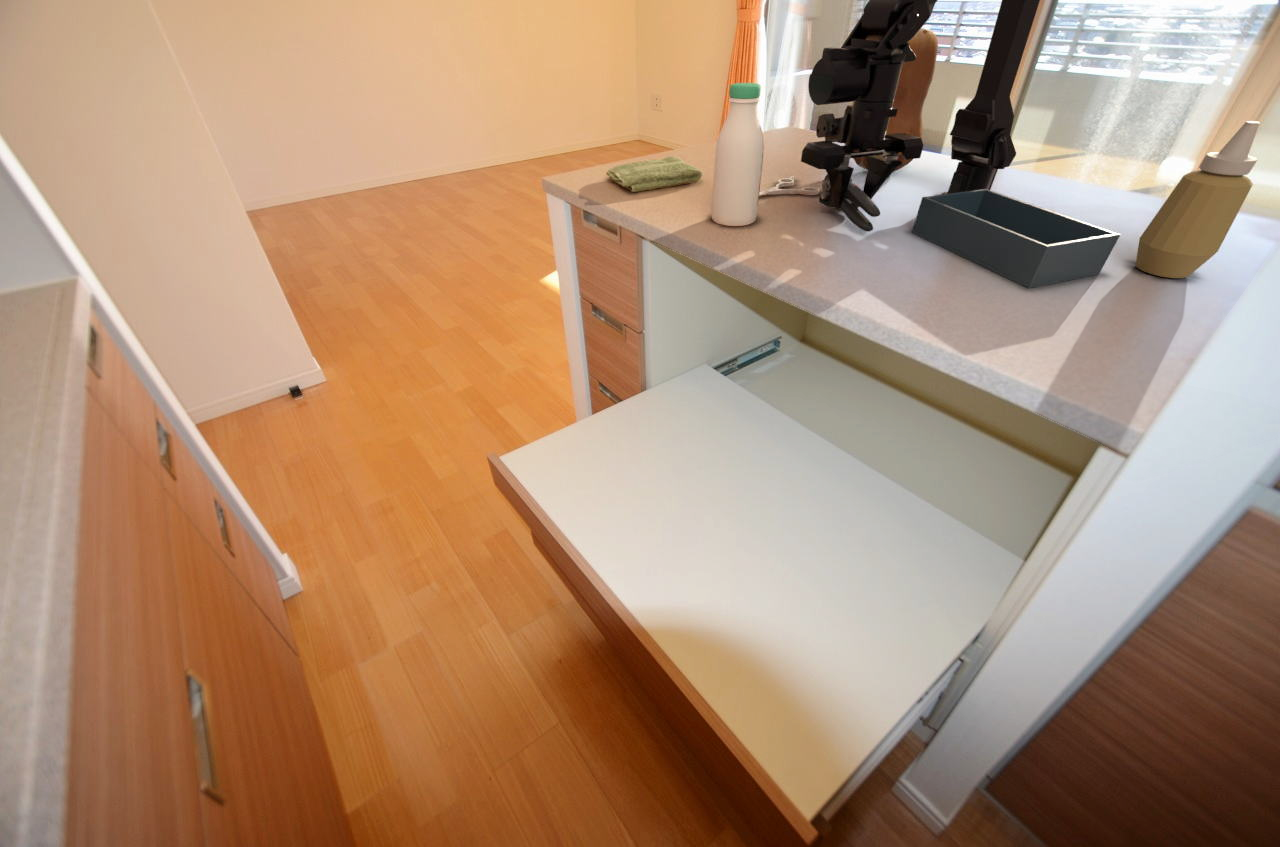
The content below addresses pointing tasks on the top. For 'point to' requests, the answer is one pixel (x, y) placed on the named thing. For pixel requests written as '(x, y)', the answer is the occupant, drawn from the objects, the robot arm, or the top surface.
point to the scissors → (789, 183)
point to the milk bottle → (738, 159)
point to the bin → (1014, 237)
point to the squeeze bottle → (1199, 210)
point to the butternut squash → (912, 91)
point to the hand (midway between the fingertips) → (850, 206)
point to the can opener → (851, 204)
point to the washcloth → (654, 174)
